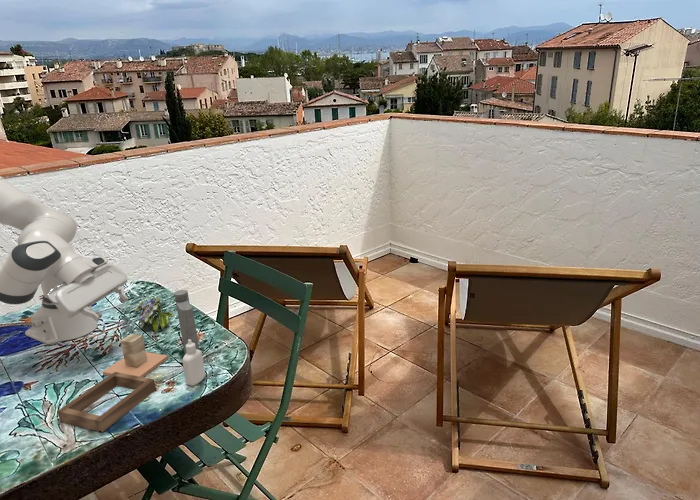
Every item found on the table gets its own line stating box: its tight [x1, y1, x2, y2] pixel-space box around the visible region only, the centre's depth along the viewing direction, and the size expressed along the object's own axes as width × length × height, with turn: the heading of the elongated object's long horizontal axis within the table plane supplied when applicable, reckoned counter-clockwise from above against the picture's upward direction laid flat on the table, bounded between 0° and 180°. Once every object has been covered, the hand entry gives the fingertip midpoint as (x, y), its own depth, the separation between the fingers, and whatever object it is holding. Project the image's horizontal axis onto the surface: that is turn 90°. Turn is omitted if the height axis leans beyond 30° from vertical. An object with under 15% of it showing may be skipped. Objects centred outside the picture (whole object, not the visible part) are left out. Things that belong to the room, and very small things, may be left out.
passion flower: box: [135, 296, 175, 333], centre depth 153 cm, size 11×11×12 cm
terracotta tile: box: [102, 351, 169, 378], centre depth 129 cm, size 12×12×1 cm
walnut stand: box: [56, 372, 157, 433], centre depth 112 cm, size 13×17×3 cm
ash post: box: [119, 333, 147, 368], centre depth 128 cm, size 4×4×8 cm
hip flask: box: [173, 289, 200, 355], centre depth 132 cm, size 16×4×20 cm, turn 25°
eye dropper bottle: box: [182, 339, 206, 386], centre depth 120 cm, size 4×6×12 cm
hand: (113, 309), depth 129 cm, fingers open, 8 cm apart
